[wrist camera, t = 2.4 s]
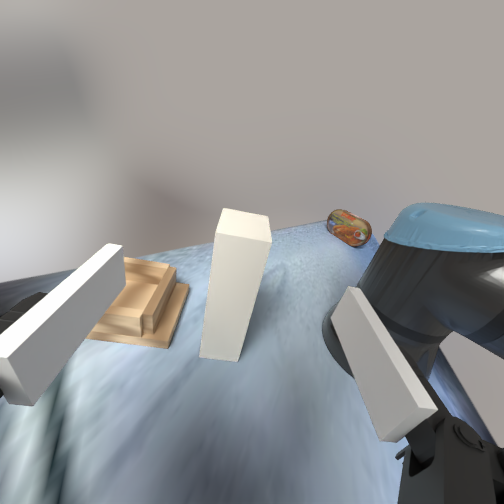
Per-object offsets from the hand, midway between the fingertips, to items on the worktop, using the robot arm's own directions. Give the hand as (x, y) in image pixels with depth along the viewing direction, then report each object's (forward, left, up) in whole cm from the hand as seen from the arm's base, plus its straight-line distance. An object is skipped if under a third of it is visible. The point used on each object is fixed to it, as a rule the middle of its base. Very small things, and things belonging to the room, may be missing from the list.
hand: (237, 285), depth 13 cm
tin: (-63, -1, -19) cm, 66 cm away
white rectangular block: (-8, -5, -18) cm, 21 cm away
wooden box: (-3, -18, -18) cm, 26 cm away
